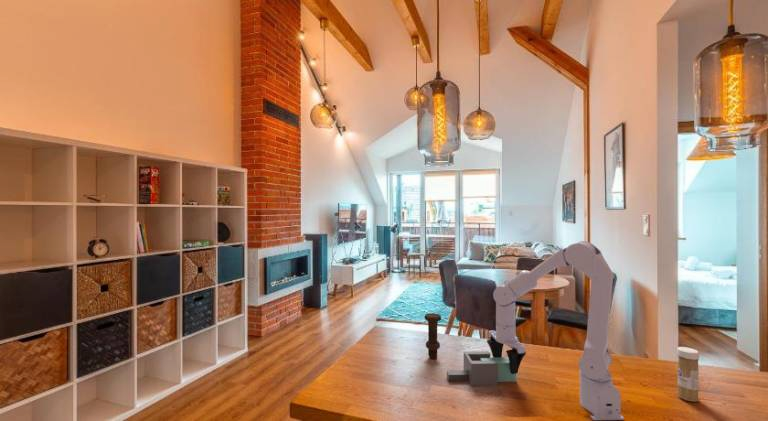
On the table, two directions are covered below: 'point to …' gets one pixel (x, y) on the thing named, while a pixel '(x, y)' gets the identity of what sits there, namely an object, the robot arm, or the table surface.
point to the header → (476, 370)
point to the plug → (502, 369)
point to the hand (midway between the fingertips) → (505, 367)
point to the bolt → (432, 334)
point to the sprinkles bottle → (688, 373)
